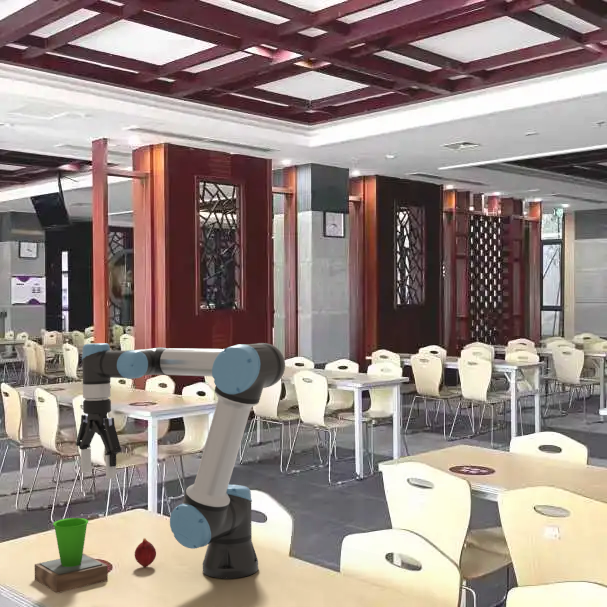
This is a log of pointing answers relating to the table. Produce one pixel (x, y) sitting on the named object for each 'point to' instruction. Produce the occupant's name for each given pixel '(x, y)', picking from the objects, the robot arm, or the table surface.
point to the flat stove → (70, 574)
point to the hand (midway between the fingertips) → (98, 475)
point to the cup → (70, 540)
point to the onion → (145, 553)
